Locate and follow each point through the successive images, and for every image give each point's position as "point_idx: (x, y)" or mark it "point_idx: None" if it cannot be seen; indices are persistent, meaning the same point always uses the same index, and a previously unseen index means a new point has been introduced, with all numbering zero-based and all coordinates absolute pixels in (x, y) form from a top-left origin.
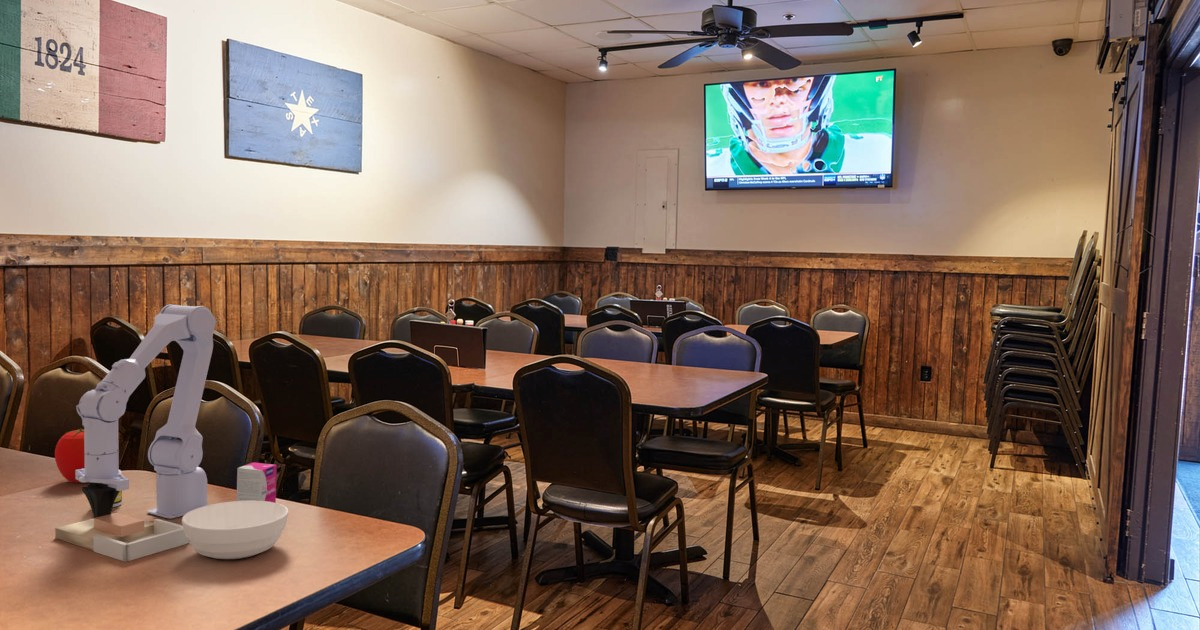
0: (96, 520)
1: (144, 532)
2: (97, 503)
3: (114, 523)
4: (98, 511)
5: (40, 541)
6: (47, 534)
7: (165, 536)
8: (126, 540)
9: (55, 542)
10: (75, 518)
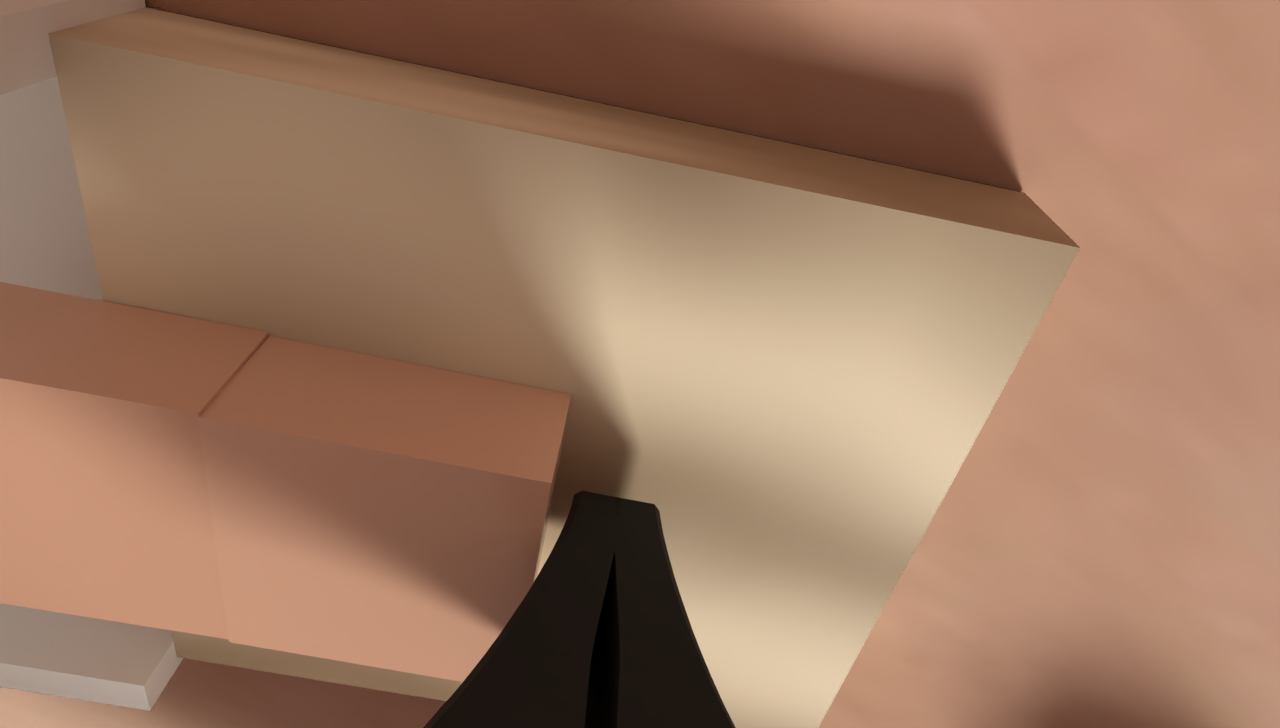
0: (488, 457)
1: None
2: (458, 695)
3: (52, 408)
4: (526, 596)
5: (1136, 21)
6: (1224, 261)
7: None
8: None
9: (902, 71)
10: (1240, 662)
